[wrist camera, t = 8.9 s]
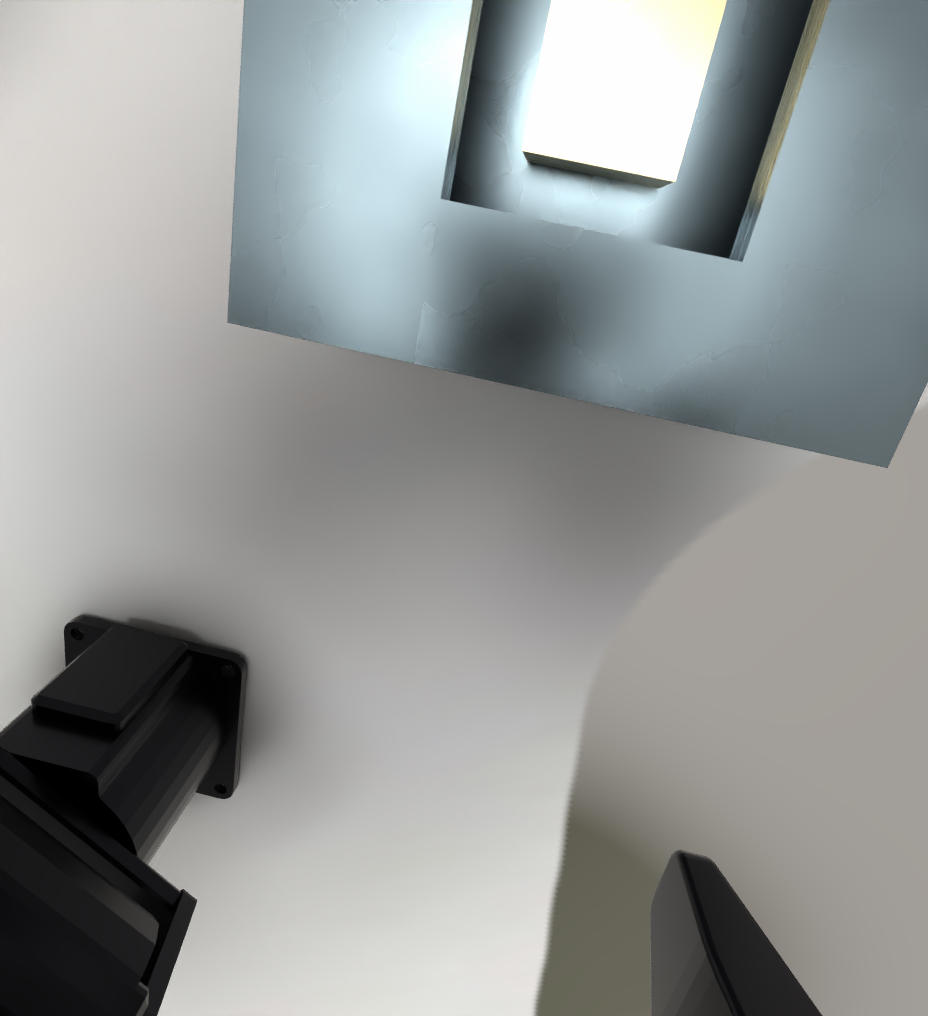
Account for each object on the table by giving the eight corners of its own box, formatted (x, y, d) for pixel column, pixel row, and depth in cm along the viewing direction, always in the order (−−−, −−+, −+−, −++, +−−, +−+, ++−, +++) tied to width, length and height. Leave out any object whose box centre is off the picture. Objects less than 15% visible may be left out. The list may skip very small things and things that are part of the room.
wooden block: (659, 188, 16) (675, 181, 14) (527, 161, 16) (522, 150, 14) (747, -132, 14) (784, -204, 12) (593, -160, 14) (599, -237, 12)
